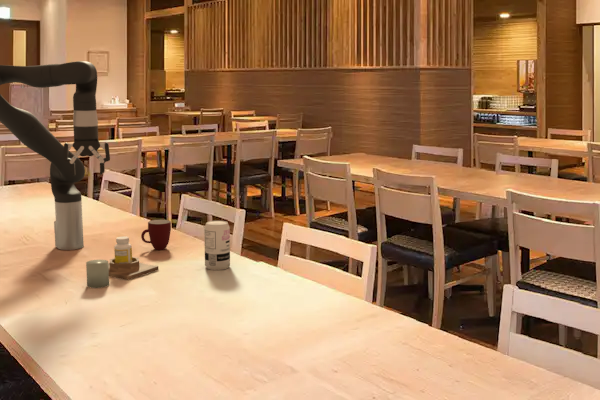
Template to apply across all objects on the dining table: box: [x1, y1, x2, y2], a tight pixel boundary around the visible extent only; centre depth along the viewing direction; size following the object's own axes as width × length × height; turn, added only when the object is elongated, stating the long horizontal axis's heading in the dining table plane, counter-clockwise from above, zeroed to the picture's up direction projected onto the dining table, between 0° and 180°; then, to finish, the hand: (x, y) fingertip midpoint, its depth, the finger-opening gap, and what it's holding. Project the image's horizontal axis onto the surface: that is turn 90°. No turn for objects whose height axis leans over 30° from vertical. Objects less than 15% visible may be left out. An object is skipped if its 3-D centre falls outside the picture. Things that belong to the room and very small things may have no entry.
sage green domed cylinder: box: [85, 259, 110, 289], centre depth 211 cm, size 6×6×7 cm
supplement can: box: [203, 220, 231, 271], centre depth 231 cm, size 8×8×15 cm
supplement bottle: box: [113, 235, 133, 264], centre depth 225 cm, size 5×5×10 cm
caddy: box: [108, 256, 159, 281], centre depth 226 cm, size 16×14×4 cm
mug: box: [141, 219, 172, 251], centre depth 254 cm, size 11×8×10 cm
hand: (87, 174), depth 229 cm, fingers open, 8 cm apart
